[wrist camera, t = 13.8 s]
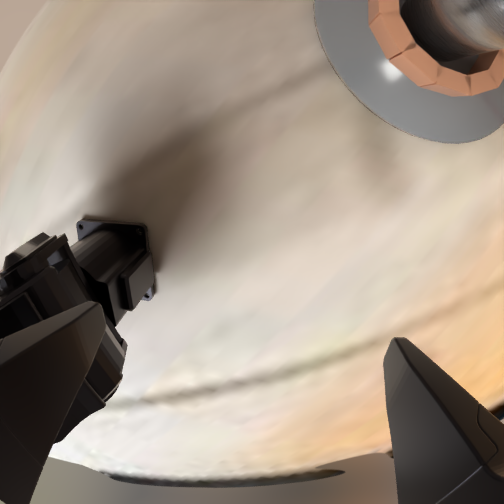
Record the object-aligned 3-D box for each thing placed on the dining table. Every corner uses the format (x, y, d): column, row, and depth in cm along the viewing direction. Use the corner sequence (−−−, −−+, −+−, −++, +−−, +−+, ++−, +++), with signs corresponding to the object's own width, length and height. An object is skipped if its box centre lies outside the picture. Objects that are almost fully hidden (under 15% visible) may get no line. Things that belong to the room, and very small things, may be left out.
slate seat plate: (308, 119, 18) (312, 119, 15) (313, -77, 11) (316, -102, 8) (508, 164, 16) (536, 174, 13) (505, -14, 10) (527, -24, 6)
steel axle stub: (420, 67, 14) (535, 39, 4) (387, -1, 13) (464, -83, 3) (476, 56, 13) (592, 41, 3) (446, -8, 11) (538, -63, 1)
